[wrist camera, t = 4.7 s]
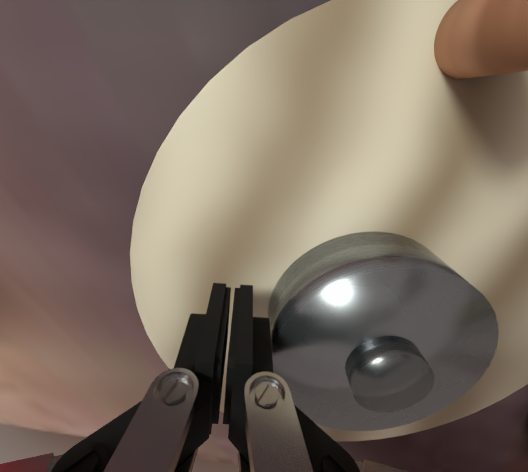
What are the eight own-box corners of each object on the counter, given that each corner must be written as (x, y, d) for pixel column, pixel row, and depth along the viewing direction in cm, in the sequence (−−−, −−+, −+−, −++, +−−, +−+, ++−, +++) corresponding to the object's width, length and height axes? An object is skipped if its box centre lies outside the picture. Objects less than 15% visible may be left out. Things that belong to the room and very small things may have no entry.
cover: (484, 248, 12) (578, 307, 9) (404, 382, 16) (447, 462, 13) (290, 215, 11) (306, 266, 8) (253, 365, 15) (252, 447, 12)
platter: (770, 32, 10) (1212, -32, 6) (490, 426, 20) (561, 523, 16) (103, -55, 9) (-76, -244, 4) (158, 418, 19) (126, 522, 14)
